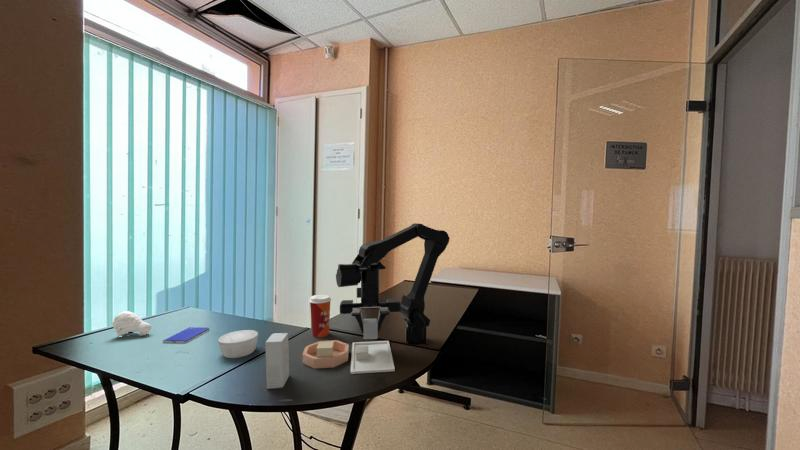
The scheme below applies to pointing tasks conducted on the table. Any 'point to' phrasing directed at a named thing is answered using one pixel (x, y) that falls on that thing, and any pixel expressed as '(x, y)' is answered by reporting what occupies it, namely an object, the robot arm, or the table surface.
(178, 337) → the hard drive
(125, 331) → the white animal figurine
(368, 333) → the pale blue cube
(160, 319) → the table surface
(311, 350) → the terracotta dish
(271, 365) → the skincare box
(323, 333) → the paper cup
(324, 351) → the cream cube
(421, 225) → the robot arm
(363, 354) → the beige grey block
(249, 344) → the ramekin
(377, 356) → the parts tray
